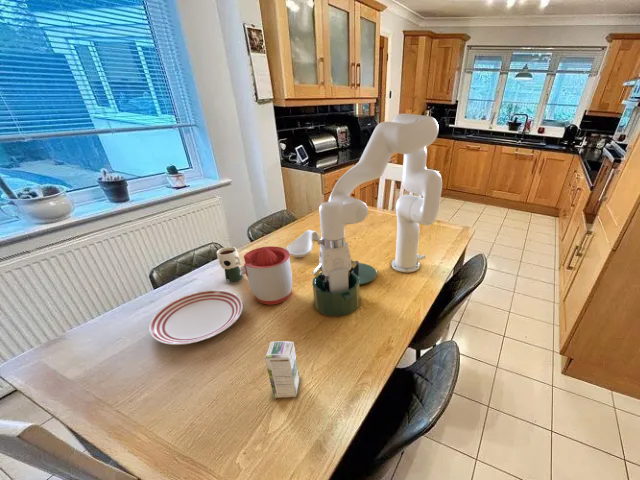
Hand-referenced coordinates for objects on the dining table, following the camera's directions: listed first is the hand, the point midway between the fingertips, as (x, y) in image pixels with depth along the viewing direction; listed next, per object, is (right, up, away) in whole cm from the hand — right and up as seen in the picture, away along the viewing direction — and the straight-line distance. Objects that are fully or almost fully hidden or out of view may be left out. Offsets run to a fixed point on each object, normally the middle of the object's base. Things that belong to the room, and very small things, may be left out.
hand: (336, 286), depth 109 cm
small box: (0, -4, +2) cm, 5 cm away
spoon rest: (-21, +18, +39) cm, 48 cm away
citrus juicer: (-25, -4, +6) cm, 26 cm away
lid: (+5, +5, +20) cm, 21 cm away
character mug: (-43, +3, +15) cm, 46 cm away
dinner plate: (-44, -12, -7) cm, 46 cm away
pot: (0, -6, +4) cm, 7 cm away
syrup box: (-8, -27, -28) cm, 40 cm away
